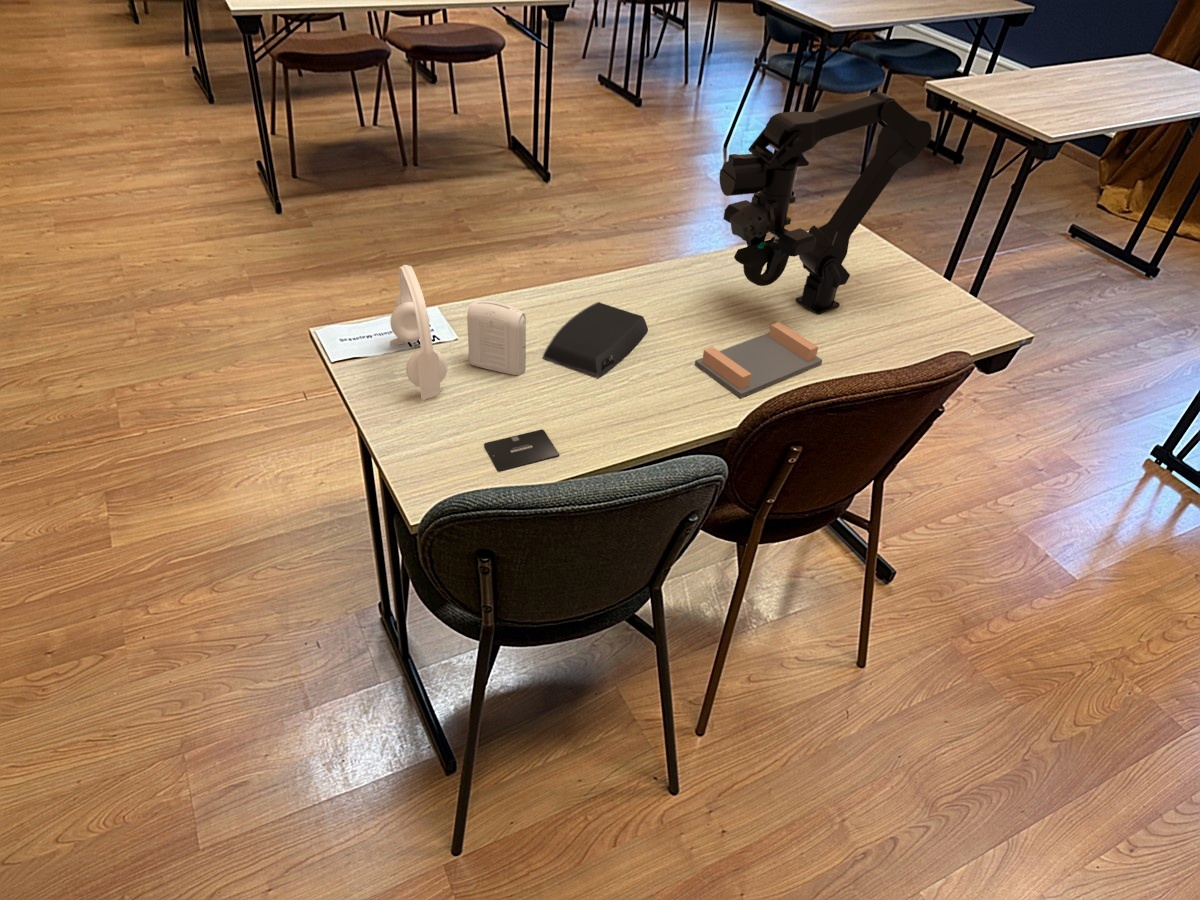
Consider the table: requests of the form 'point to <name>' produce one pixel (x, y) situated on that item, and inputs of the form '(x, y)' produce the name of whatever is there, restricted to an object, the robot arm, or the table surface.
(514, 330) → the photo printer
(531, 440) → the solid state drive
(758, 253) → the controller
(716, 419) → the table surface
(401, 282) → the headset
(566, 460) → the table surface
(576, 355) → the external hard drive
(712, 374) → the dock
